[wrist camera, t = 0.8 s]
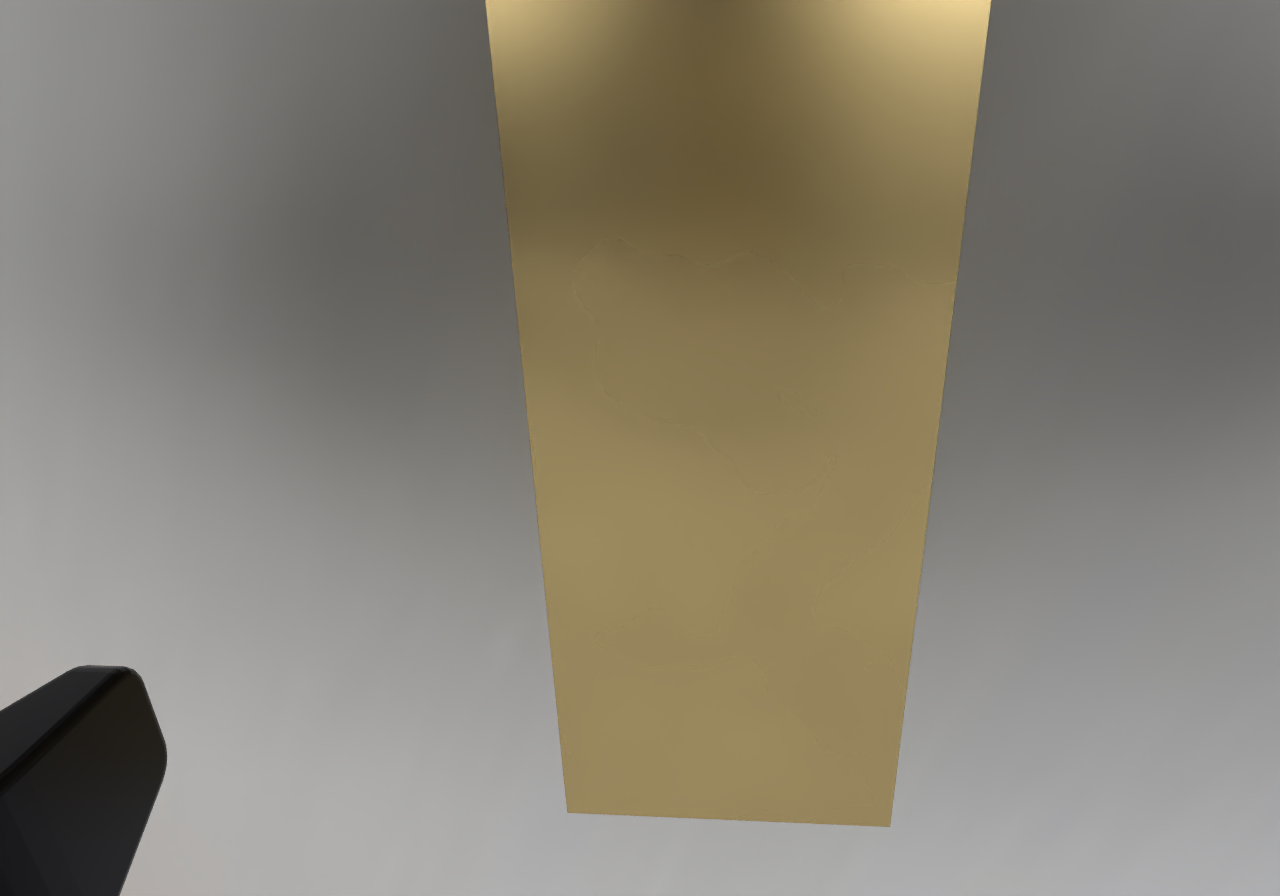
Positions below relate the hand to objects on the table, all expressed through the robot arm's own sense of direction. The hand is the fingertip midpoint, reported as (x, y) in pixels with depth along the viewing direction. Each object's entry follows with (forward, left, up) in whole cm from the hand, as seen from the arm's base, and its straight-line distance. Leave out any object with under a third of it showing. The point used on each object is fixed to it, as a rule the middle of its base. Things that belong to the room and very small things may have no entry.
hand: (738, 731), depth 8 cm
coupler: (0, 0, -9) cm, 9 cm away
